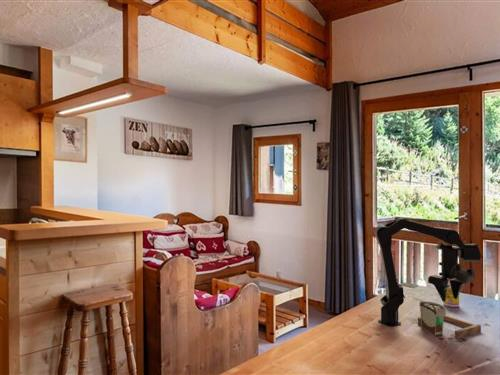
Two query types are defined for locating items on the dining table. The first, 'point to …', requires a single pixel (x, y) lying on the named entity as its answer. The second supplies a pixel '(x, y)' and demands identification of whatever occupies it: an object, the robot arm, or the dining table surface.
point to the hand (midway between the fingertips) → (449, 300)
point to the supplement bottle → (451, 298)
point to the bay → (465, 331)
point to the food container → (432, 317)
